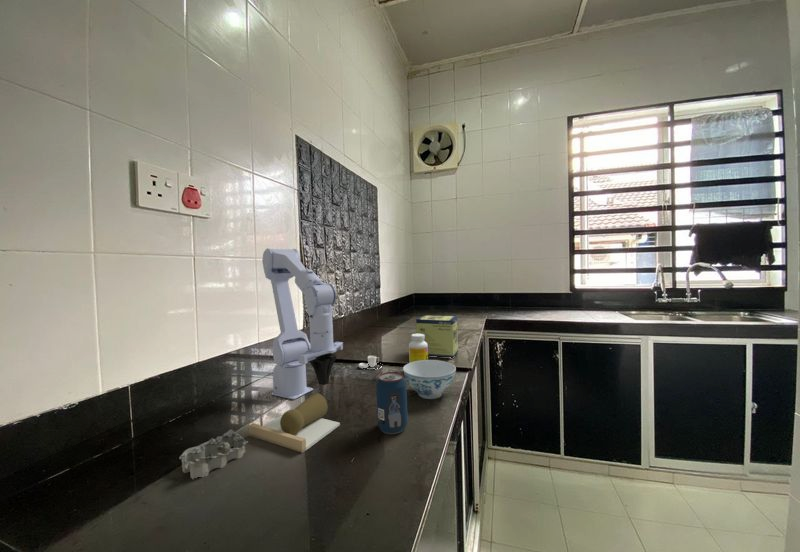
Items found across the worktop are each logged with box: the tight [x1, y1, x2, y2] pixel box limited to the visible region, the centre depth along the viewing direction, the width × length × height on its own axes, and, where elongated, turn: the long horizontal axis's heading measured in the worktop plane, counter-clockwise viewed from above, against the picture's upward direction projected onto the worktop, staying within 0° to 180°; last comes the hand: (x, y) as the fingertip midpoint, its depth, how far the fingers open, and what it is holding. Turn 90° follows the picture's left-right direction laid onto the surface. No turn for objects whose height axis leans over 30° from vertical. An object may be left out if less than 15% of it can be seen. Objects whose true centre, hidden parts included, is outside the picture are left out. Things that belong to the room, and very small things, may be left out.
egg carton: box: [179, 428, 249, 480], centre depth 61 cm, size 10×7×4 cm
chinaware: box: [402, 359, 457, 400], centre depth 89 cm, size 15×15×8 cm
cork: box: [280, 392, 329, 435], centre depth 73 cm, size 6×6×11 cm
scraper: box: [248, 414, 341, 454], centre depth 72 cm, size 16×12×2 cm
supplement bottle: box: [408, 333, 429, 363], centre depth 110 cm, size 7×7×13 cm
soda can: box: [375, 371, 408, 435], centre depth 71 cm, size 7×7×12 cm
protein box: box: [415, 315, 459, 358], centre depth 130 cm, size 10×16×16 cm
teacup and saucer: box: [357, 355, 383, 370], centre depth 117 cm, size 9×8×4 cm
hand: (323, 383), depth 80 cm, fingers closed
